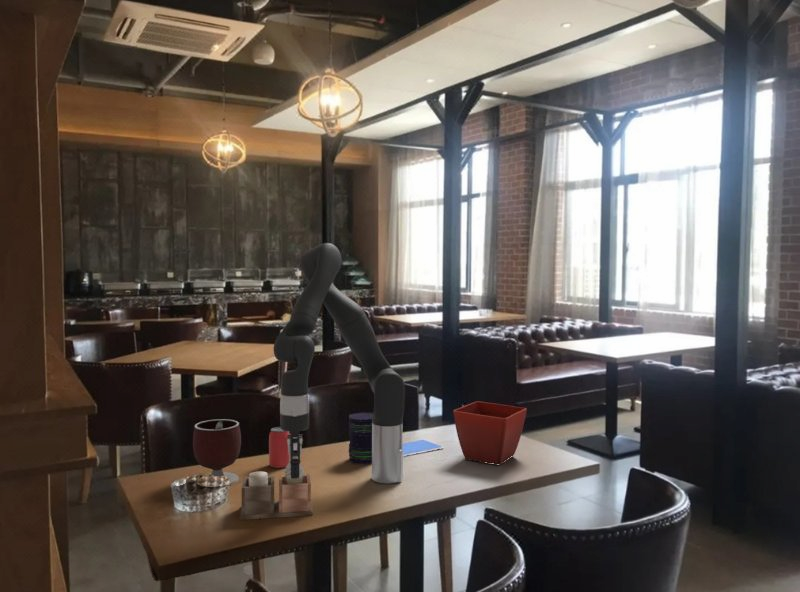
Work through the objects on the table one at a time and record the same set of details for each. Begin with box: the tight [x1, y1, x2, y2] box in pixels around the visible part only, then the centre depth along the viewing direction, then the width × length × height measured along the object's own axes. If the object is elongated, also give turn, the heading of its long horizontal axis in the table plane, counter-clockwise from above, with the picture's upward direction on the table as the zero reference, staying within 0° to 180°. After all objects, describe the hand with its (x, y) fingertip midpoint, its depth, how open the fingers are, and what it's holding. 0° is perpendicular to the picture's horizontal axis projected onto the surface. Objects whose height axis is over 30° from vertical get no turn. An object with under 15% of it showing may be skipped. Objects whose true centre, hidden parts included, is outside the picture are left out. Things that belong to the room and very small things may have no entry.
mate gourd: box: [192, 418, 242, 486], centre depth 193 cm, size 16×14×20 cm
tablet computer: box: [402, 439, 444, 457], centre depth 229 cm, size 19×13×1 cm, turn 125°
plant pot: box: [453, 401, 528, 465], centre depth 218 cm, size 19×19×17 cm
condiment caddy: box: [239, 470, 314, 521], centre depth 171 cm, size 18×9×10 cm, turn 100°
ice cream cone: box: [284, 456, 305, 484], centre depth 171 cm, size 5×5×15 cm
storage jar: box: [348, 412, 374, 466], centre depth 215 cm, size 10×10×15 cm
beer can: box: [268, 426, 290, 469], centre depth 209 cm, size 7×7×12 cm
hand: (294, 474), depth 171 cm, fingers closed on ice cream cone, 5 cm apart
